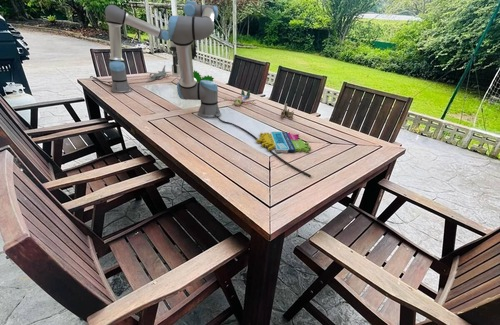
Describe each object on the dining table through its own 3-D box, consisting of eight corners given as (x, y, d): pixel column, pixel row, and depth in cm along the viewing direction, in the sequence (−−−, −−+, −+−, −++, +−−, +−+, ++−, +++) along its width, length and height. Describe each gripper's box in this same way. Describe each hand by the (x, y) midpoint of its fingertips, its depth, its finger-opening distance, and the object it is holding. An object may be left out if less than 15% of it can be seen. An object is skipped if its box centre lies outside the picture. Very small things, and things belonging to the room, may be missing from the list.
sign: (313, 150, 142) (258, 149, 139) (312, 153, 143) (258, 152, 140) (301, 132, 164) (254, 130, 161) (301, 134, 165) (254, 133, 162)
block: (180, 75, 257) (179, 64, 252) (179, 77, 251) (178, 65, 246) (173, 75, 256) (172, 64, 251) (172, 76, 250) (171, 65, 245)
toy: (261, 91, 228) (254, 99, 202) (261, 99, 231) (253, 108, 205) (231, 87, 233) (220, 95, 207) (230, 95, 236) (219, 104, 210)
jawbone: (291, 106, 199) (293, 98, 190) (292, 123, 193) (294, 114, 184) (278, 106, 199) (280, 97, 190) (279, 122, 193) (281, 114, 184)
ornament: (208, 92, 257) (212, 77, 255) (210, 92, 249) (214, 76, 248) (188, 85, 249) (191, 70, 247) (189, 85, 241) (193, 69, 239)
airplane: (140, 75, 284) (139, 65, 279) (170, 73, 298) (169, 64, 293) (146, 83, 256) (144, 73, 251) (178, 81, 269) (177, 71, 264)
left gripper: (172, 45, 248) (174, 70, 260) (168, 47, 232) (170, 74, 243) (180, 45, 249) (181, 70, 260) (177, 47, 233) (178, 74, 244)
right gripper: (189, 25, 197) (190, 55, 208) (184, 26, 176) (186, 60, 186) (199, 25, 198) (200, 55, 208) (195, 27, 176) (196, 60, 187)
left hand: (176, 72), depth 252 cm, fingers closed on block, 6 cm apart
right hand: (193, 57), depth 197 cm, fingers open, 13 cm apart
